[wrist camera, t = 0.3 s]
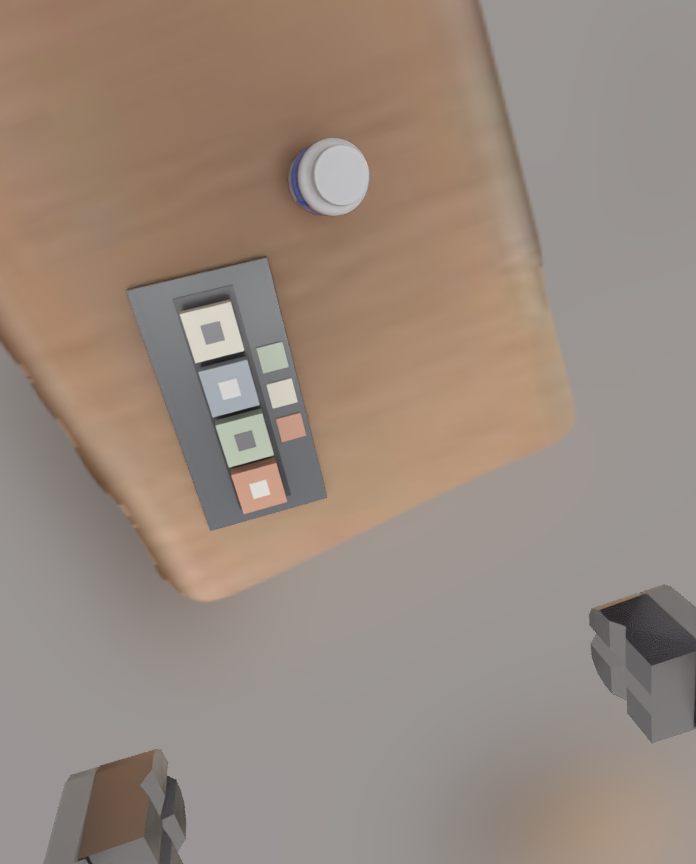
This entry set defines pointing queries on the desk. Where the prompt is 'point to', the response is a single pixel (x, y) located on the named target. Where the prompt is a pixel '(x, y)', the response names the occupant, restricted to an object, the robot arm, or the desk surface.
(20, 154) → the desk surface
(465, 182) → the desk surface
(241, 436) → the sage key
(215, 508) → the keypad base
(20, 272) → the desk surface
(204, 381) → the slate key
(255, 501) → the terracotta key
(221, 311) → the cream key
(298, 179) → the pill bottle
